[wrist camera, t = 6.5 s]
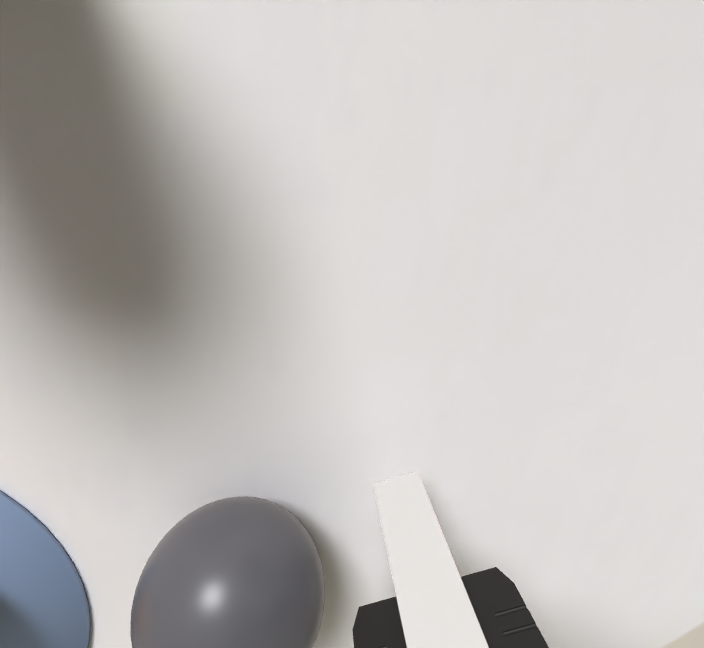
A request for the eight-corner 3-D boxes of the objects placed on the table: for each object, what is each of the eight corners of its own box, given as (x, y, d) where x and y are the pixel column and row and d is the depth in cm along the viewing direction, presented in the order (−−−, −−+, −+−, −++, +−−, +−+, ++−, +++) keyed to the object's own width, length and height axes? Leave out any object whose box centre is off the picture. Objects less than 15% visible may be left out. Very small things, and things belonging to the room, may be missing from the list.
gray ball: (310, 541, 10) (266, 437, 15) (64, 691, 8) (108, 519, 13) (377, 681, 12) (318, 546, 17) (185, 826, 10) (184, 629, 15)
